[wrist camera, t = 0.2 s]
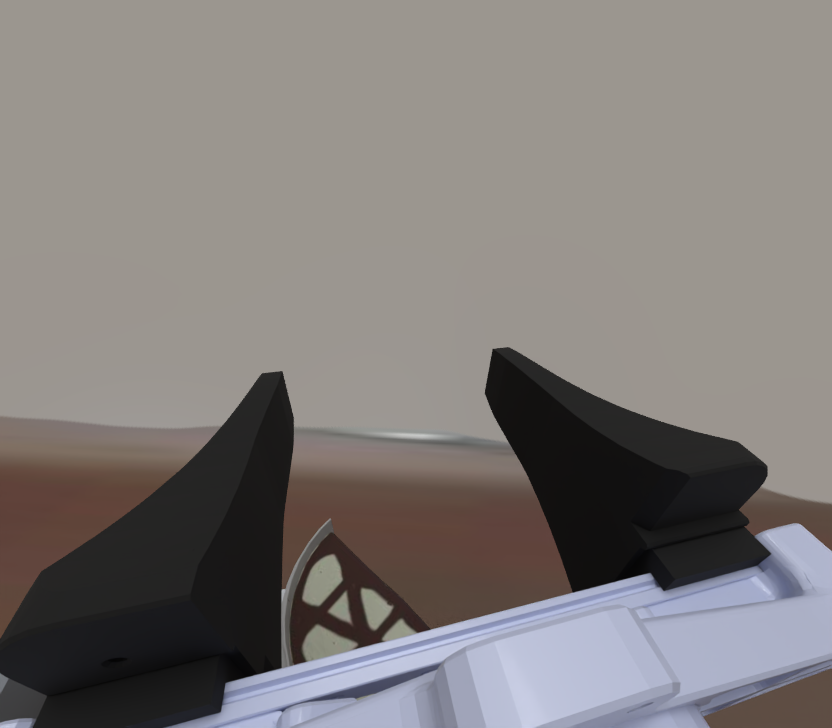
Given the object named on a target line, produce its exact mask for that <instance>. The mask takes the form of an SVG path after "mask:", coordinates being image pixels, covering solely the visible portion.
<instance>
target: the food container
mask: <svg viewBox="0 0 832 728" xmlns="http://www.w3.org/2000/svg"><path fill="white" fill-rule="evenodd" d="M428 630H431V629H430V628H429V627H428V626H427V625H426V624H425V623H424V622H423V621H422V619H421V618H420V617H419V616H418V615H417V614H416V613H415V612H414V611H413V610H412V609H411V608H410V606H409V605H408V604H407V603H406V602H405V601H404V600H403V599H402V598H401V597H400V596H399V595H398V594H397V593H396V592H394V591H393V590H392V589H391V588H390V587H389V586H388V585H387V584H385V583H384V582H383V581H382V580H381V579H380V578H379V577H378V576H377V575H376V574H375V573H374V572H372V571H371V570H370V569H369V568H368V567H367V566H366V565H365V564H364V563H363V562H362V561H361V560H360V559H359V558H358V557H357V556H356V555H355V554H354V553H353V552H352V551H351V550H350V549H349V548H348V547H347V546H346V545H345V544H344V543H343V542H342V541H341V540H340V539H339V538H338V537H337V536H336V535H335V534H334V531H333V526H332V522H331V519H329V520H328V521H327V522H326V523H325V524H324V525H323V526H322V527H321V528H320V529H319V530H318V531H317V533H316V534H315V535H314V536H313V538H312V539H311V540H310V542H309V543H308V544H307V546H306V548H305V549H304V551H303V553H302V554H301V556H300V558H299V559H298V561H297V563H296V564H295V567H294V569H293V571H292V574H291V576H290V578H289V581H288V583H287V586H286V590H285V594H284V597H283V601H282V604H281V646H282V668H285V667H289V666H293V665H297V664H300V663H304V662H308V661H312V660H316V659H320V658H324V657H327V656H331V655H335V654H339V653H343V652H347V651H351V650H354V649H358V648H362V647H366V646H370V645H374V644H378V643H381V642H385V641H389V640H393V639H397V638H401V637H405V636H408V635H412V634H416V633H420V632H424V631H428ZM374 694H376V693H374ZM371 695H373V694H371ZM371 695H367V696H364V697H360V698H357V699H356V700H357V701H358V700H360V699H363V698H366V697H368V696H371Z"/></svg>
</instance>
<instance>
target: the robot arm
mask: <svg viewBox="0 0 832 728" xmlns="http://www.w3.org/2000/svg"><path fill="white" fill-rule="evenodd" d="M485 395H486V397H487V400H488V403H489V405H490V408H491V410H492V412H493V415H494V417H495V419H496V421H497V422H498V424H499V426H500V428H501V430H502V431H503V433H504V435H505V436H506V438H507V440H508V442H509V443H510V445H511V447H512V449H513V450H514V452H515V454H516V455H517V457H518V459H519V461H520V462H521V464H522V466H523V468H524V470H525V472H526V474H527V475H528V477H529V480H530V482H531V484H532V486H533V489H534V491H535V493H536V496H537V498H538V500H539V502H540V505H541V507H542V510H543V512H544V515H545V517H546V519H547V522H548V524H549V527H550V529H551V532H552V535H553V537H554V540H555V543H556V545H557V548H558V551H559V553H560V556H561V559H562V562H563V565H564V568H565V571H566V574H567V577H568V580H569V583H570V585H571V588H572V592H573V593H570V594H567V595H563V596H559V597H555V598H551V599H547V600H543V601H540V602H536V603H532V604H528V605H524V606H520V607H516V608H513V609H509V610H505V611H501V612H497V613H493V614H489V615H486V616H482V617H478V618H474V619H470V620H466V621H462V622H459V623H455V624H451V625H447V626H443V627H439V628H435V629H432V630H428V631H424V632H420V633H416V634H412V635H408V636H405V637H401V638H397V639H393V640H389V641H385V642H381V643H378V644H374V645H370V646H366V647H362V648H358V649H354V650H351V651H347V652H343V653H339V654H335V655H331V656H327V657H324V658H320V659H316V660H312V661H308V662H304V663H300V664H297V665H293V666H289V667H285V668H282V646H281V604H282V549H283V521H284V511H285V503H286V496H287V489H288V482H289V474H290V467H291V460H292V453H293V444H294V417H293V413H292V409H291V405H290V401H289V397H288V393H287V389H286V384H285V380H284V376H283V372H282V371H280V372H271V373H262V374H261V375H260V377H259V378H258V379H257V381H256V382H255V383H254V385H253V387H252V388H251V389H250V391H249V392H248V393H247V395H246V396H245V398H244V399H243V400H242V402H241V403H240V404H239V406H238V407H237V408H236V409H235V411H234V412H233V413H232V415H231V416H230V417H229V418H228V420H227V421H226V422H225V423H224V424H223V426H222V427H221V428H220V429H219V430H218V431H217V433H216V434H215V435H214V436H213V437H212V438H211V439H210V441H209V442H208V443H207V444H206V445H205V446H204V447H203V448H202V449H201V450H200V451H199V452H198V453H197V454H196V455H195V456H194V457H193V458H192V459H191V460H190V461H189V462H188V463H187V464H186V465H185V466H184V467H183V468H182V469H181V470H180V471H179V472H177V473H176V474H175V475H174V476H173V477H172V478H170V479H169V480H168V481H167V482H166V483H164V484H163V485H162V486H161V487H160V488H159V489H157V490H156V491H155V492H154V493H153V494H152V495H150V496H149V497H148V498H147V499H145V500H144V501H143V502H142V503H140V504H139V505H138V506H136V507H135V508H134V509H132V510H131V511H130V512H129V513H127V514H126V515H124V516H123V517H122V518H120V519H119V520H118V521H116V522H115V523H113V524H112V525H111V526H109V527H108V528H107V529H105V530H104V531H102V532H101V533H99V534H98V535H97V536H95V537H94V538H92V539H91V540H89V541H87V542H86V543H84V544H83V545H81V546H80V547H78V548H77V549H75V550H74V551H72V552H71V553H69V554H68V555H66V556H65V557H63V558H62V559H60V560H59V561H57V562H56V563H54V564H52V565H51V566H49V567H48V568H46V569H44V570H43V571H41V573H40V574H39V576H38V577H37V579H36V580H35V582H34V584H33V585H32V587H31V588H30V590H29V591H28V593H27V595H26V596H25V598H24V600H23V601H22V603H21V605H20V606H19V608H18V610H17V611H16V613H15V615H14V617H13V618H12V620H11V622H10V623H9V625H8V627H7V628H6V630H5V632H4V633H3V635H2V637H1V639H0V673H1V674H2V675H4V676H5V677H7V678H9V679H11V680H13V681H15V682H18V683H20V684H22V685H24V686H26V687H28V688H31V689H33V690H35V691H37V692H39V693H42V694H44V695H46V696H47V698H46V700H45V702H44V704H43V706H42V708H41V711H40V713H39V715H38V717H37V719H34V718H23V719H15V720H9V721H4V722H0V728H710V727H709V726H708V724H707V722H706V721H705V719H704V718H703V716H706V715H709V714H711V713H714V712H716V711H719V710H722V709H724V708H727V707H729V706H732V705H735V704H737V703H740V702H743V701H745V700H748V699H750V698H753V697H756V696H758V695H761V694H764V693H766V692H769V691H771V690H774V689H777V688H779V687H782V686H785V685H787V684H790V683H793V682H795V681H798V680H801V679H803V678H806V677H809V676H812V675H814V674H817V673H820V672H823V671H825V670H828V669H831V668H832V551H831V550H829V549H828V548H827V547H826V546H825V545H824V544H822V543H821V542H820V541H819V540H818V539H817V538H815V537H814V536H813V535H812V534H811V533H810V532H809V531H807V530H806V529H805V528H804V527H803V526H802V525H800V524H796V523H794V524H790V525H786V526H782V527H778V528H774V529H770V530H766V531H764V532H761V533H759V534H757V535H756V536H753V535H752V534H751V533H750V532H749V531H748V530H747V529H746V528H745V527H744V526H747V525H748V524H749V520H748V518H747V517H746V516H745V515H743V514H742V513H741V512H740V511H739V509H740V508H741V507H742V506H743V505H744V503H745V502H746V501H747V500H748V499H749V498H750V497H751V496H752V495H753V494H754V493H755V492H756V491H757V490H758V489H759V488H760V487H761V485H762V484H763V483H764V481H765V479H766V477H767V465H766V464H765V463H764V462H762V461H761V460H760V459H759V458H757V457H756V456H755V455H754V454H752V453H751V452H750V451H748V449H746V448H745V447H744V446H743V445H741V444H740V443H738V442H736V441H732V440H728V439H724V438H720V437H715V436H711V435H707V434H703V433H698V432H694V431H691V430H687V429H684V428H680V427H677V426H674V425H670V424H667V423H664V422H661V421H658V420H655V419H652V418H648V417H646V416H643V415H640V414H638V413H635V412H632V411H629V410H627V409H624V408H622V407H619V406H617V405H615V404H612V403H610V402H608V401H606V400H603V399H601V398H599V397H597V396H594V395H592V394H590V393H588V392H586V391H584V390H582V389H580V388H579V387H577V386H575V385H573V384H571V383H569V382H567V381H565V380H564V379H562V378H560V377H559V376H557V375H555V374H553V373H551V372H550V371H548V370H547V369H545V368H543V367H542V366H540V365H538V364H537V363H535V362H533V361H532V360H530V359H528V358H527V357H525V356H523V355H522V354H520V353H518V352H517V351H515V350H513V349H511V348H508V347H507V348H497V349H493V351H492V356H491V361H490V367H489V372H488V378H487V383H486V389H485ZM374 693H376V694H374ZM371 694H373V695H371ZM367 695H371V696H368V697H366V698H363V699H360V700H358V701H357V700H356V699H357V698H360V697H364V696H367Z"/></svg>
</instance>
